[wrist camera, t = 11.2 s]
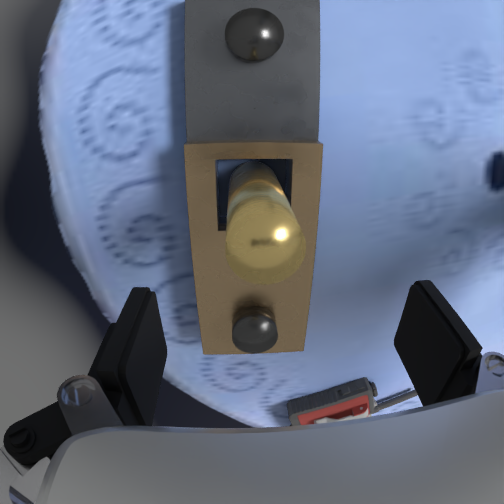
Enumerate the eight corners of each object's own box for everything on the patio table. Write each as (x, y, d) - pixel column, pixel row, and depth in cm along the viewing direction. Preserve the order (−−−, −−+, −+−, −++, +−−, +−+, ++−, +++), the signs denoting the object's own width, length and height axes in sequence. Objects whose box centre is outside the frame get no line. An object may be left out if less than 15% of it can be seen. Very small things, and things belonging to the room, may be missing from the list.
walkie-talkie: (291, 429, 44) (414, 389, 42) (295, 453, 40) (425, 410, 38) (276, 400, 40) (416, 353, 38) (279, 427, 36) (429, 376, 34)
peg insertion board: (314, 1, 20) (331, -17, 15) (298, 331, 34) (306, 364, 30) (188, 0, 19) (177, -20, 15) (205, 334, 34) (202, 368, 29)
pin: (286, 176, 27) (321, 235, 16) (261, 215, 28) (278, 295, 17) (244, 152, 25) (250, 197, 15) (220, 193, 27) (211, 264, 16)
